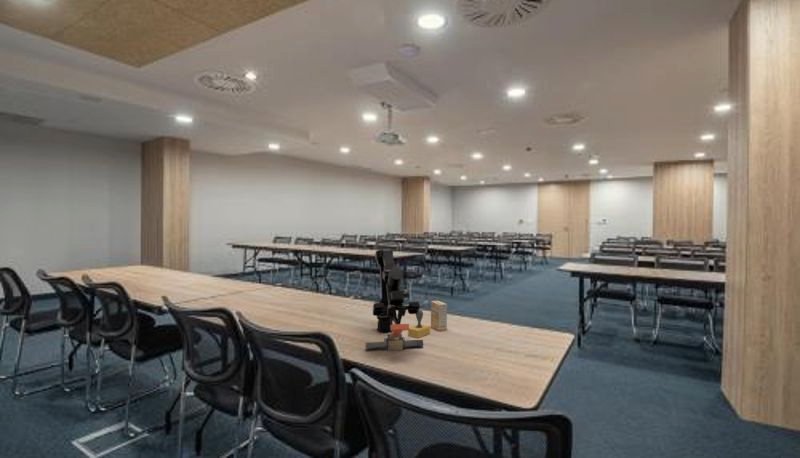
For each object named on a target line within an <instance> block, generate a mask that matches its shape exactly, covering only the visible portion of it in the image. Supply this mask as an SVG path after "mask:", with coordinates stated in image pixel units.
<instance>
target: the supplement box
mask: <svg viewBox="0 0 800 458" xmlns="http://www.w3.org/2000/svg"><path fill="white" fill-rule="evenodd" d="M447 324H448V303H447V302H446V303H445V302H443V301H441V300H431V301H430V328H433V329H435V330H437V331H439V332H443V331H447V330H448V328H447Z"/></svg>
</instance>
